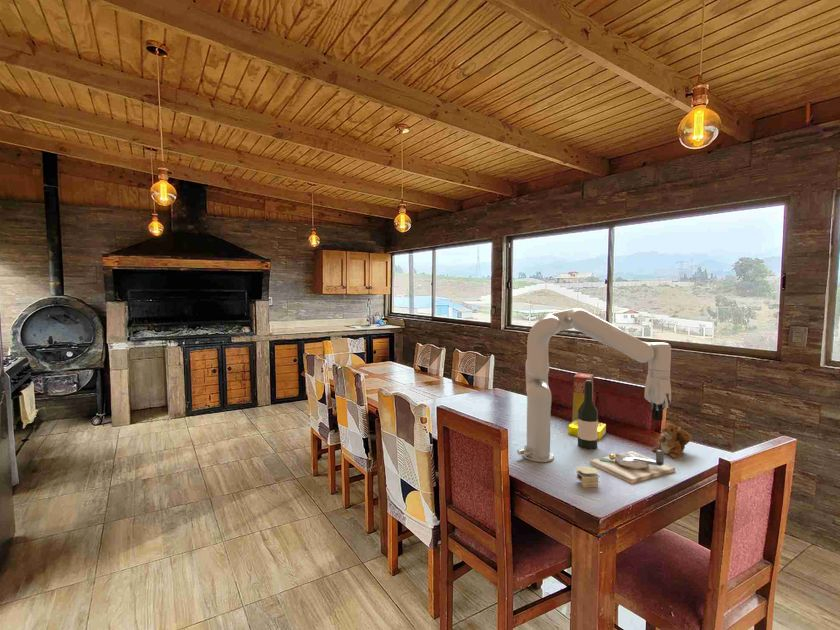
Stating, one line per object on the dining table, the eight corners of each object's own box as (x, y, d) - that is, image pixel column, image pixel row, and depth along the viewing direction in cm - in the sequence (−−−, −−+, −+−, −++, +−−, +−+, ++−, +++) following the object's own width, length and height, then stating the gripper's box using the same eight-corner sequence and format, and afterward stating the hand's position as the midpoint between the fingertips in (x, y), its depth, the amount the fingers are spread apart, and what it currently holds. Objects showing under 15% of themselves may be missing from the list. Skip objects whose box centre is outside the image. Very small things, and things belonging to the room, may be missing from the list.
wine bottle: (599, 450, 179) (600, 382, 178) (579, 449, 181) (580, 381, 179) (595, 443, 187) (596, 378, 186) (576, 442, 189) (577, 378, 187)
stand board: (631, 483, 148) (631, 478, 148) (589, 463, 165) (590, 459, 165) (675, 471, 158) (675, 467, 157) (631, 454, 175) (631, 450, 175)
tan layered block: (596, 479, 152) (596, 465, 151) (606, 491, 143) (606, 475, 142) (569, 479, 152) (569, 464, 152) (577, 490, 143) (577, 475, 143)
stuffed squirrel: (650, 450, 179) (650, 421, 178) (673, 446, 184) (674, 417, 183) (671, 459, 170) (671, 428, 169) (695, 454, 174) (696, 424, 174)
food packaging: (589, 425, 213) (590, 378, 212) (571, 422, 218) (571, 376, 217) (593, 419, 225) (594, 373, 224) (575, 416, 230) (576, 372, 228)
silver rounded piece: (607, 464, 160) (608, 447, 160) (610, 454, 170) (610, 438, 170) (664, 474, 151) (664, 457, 150) (662, 463, 161) (663, 446, 161)
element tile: (575, 426, 213) (575, 417, 212) (606, 432, 204) (606, 422, 204) (566, 434, 201) (567, 425, 200) (599, 441, 192) (599, 430, 192)
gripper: (638, 370, 168) (636, 414, 169) (662, 377, 153) (660, 426, 154) (655, 370, 169) (654, 414, 170) (681, 377, 154) (679, 425, 155)
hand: (657, 419), depth 162 cm, fingers closed
